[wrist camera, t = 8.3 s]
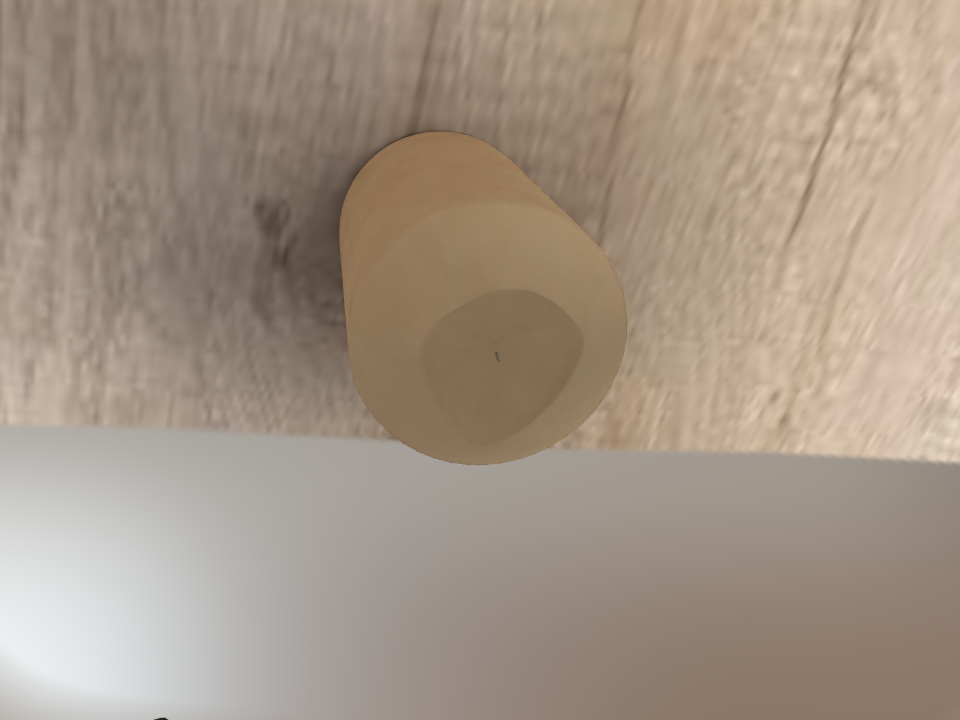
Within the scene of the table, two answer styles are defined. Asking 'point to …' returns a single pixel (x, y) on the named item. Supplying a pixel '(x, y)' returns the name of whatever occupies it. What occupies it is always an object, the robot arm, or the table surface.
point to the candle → (473, 303)
